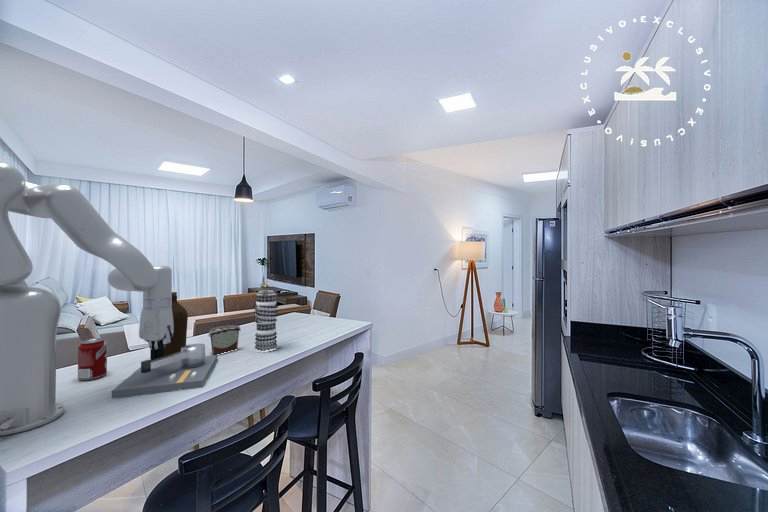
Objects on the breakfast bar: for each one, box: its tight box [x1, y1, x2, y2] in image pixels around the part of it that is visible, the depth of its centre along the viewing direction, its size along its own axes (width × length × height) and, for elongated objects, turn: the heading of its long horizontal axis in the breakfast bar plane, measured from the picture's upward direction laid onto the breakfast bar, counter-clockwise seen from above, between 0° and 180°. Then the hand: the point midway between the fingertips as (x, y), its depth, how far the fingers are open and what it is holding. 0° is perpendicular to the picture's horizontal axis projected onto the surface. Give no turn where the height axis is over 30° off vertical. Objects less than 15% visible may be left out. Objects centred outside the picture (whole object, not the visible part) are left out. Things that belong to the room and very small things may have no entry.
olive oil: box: [164, 291, 189, 356], centre depth 120 cm, size 11×11×25 cm
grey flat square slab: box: [111, 355, 218, 399], centre depth 99 cm, size 25×22×3 cm
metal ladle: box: [140, 343, 206, 373], centre depth 98 cm, size 20×7×6 cm, turn 160°
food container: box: [208, 325, 241, 356], centre depth 125 cm, size 12×6×10 cm, turn 144°
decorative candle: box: [254, 289, 279, 351], centre depth 128 cm, size 9×9×25 cm
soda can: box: [77, 337, 108, 381], centre depth 98 cm, size 7×7×12 cm
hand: (157, 360), depth 99 cm, fingers closed
